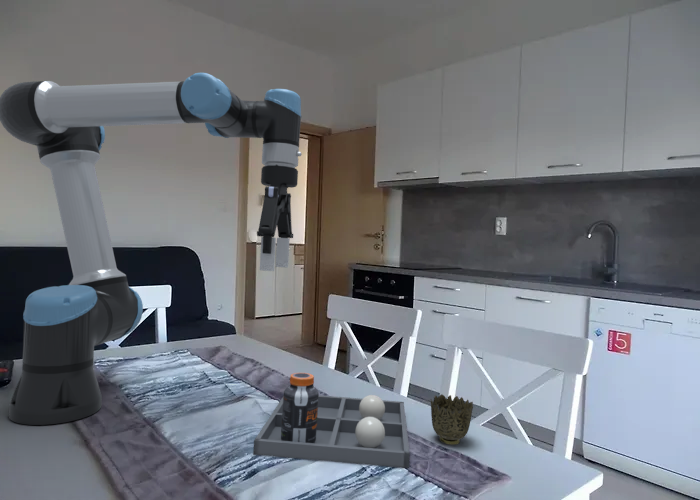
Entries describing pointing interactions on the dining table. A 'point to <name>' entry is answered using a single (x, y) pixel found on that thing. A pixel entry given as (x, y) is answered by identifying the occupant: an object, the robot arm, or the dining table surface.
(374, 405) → the egg ball
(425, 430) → the dining table surface
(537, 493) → the dining table surface
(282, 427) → the pill bottle
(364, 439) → the egg ball
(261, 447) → the egg tray
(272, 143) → the robot arm
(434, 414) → the cup
